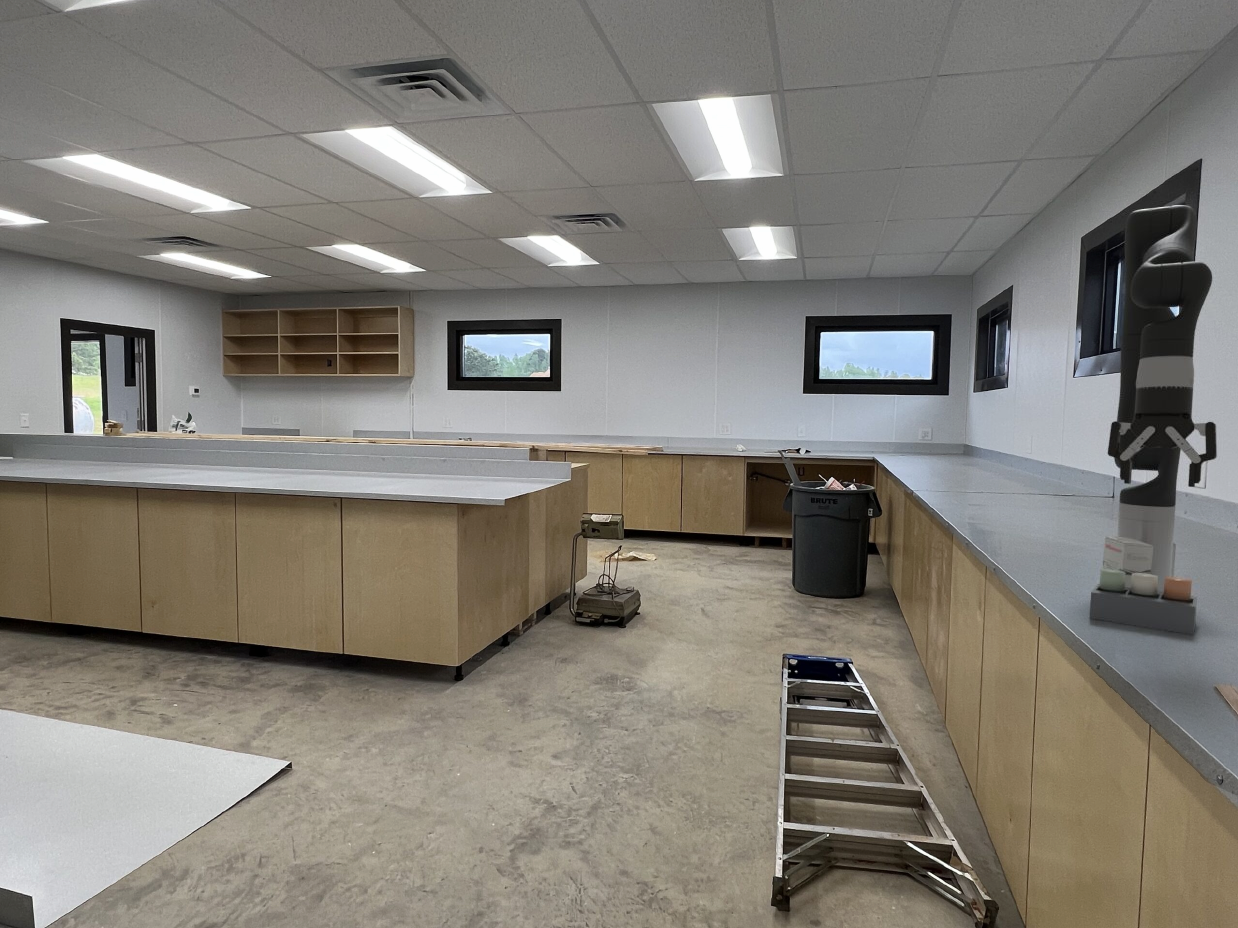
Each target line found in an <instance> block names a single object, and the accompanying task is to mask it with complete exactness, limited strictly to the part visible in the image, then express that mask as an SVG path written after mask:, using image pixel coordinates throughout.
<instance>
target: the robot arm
mask: <svg viewBox="0 0 1238 928" xmlns="http://www.w3.org/2000/svg"><path fill="white" fill-rule="evenodd" d="M1197 221H1198V219H1197V214H1196V212H1195V209H1194V208H1193V207H1192V206H1190V205H1184V204H1177V205H1169V206H1167V205H1166V206H1162V207H1161V206H1160V207H1152V208H1144V209H1137V210H1134V211H1132V212H1130V214H1129V215H1128V216H1127V219H1126V223H1125V230H1124V285H1125V286H1124V306H1123V315H1122V324H1121V325H1122V327H1121V341H1120V380H1119V381H1120V382H1119V383H1120V385H1119V398H1118V399H1119V400H1118V407H1117V416H1116V420H1115V421H1112V423H1111V424H1110V431H1109V438H1108V439H1109V440H1108V447H1107V455H1108V456H1109V457H1112V458H1113V459H1114V463H1115V465H1116V467H1117V468H1119V478H1120V480H1121V481H1123V483H1124V484H1127V485H1131V482H1132V473H1133V471H1135V470H1136V471H1150V472H1154V471H1155V472H1157V476H1156V477H1154V478H1153V479H1151V480H1149V481H1146V482H1144V483H1142V484H1138V485H1133V486H1127V487H1124V488H1122V489H1121V490H1120V493H1119V500H1118V501H1119V502H1118V503H1119V504H1118V507H1119V508H1118V518H1117V519H1118V520H1117V522H1118V523H1117V524H1118V525H1117V536H1116V537H1124V538H1132V539H1135V540H1137V541H1140V542H1143V543H1146V544H1149V545H1152V546H1153V556H1152V566H1151V575H1156V576H1158V582H1157V591H1158V592H1164V579H1165V577H1175V564H1176V550H1177V545H1176V543H1175V542H1174V534H1175V520H1176V518H1175V517H1176V504H1177V503H1176V502H1177V499H1176V498H1177V484H1178V483H1177V482H1178V481H1177V479H1178V472H1179V466H1180V458H1181V451H1182V452H1183V453H1184V455H1186V457H1188V458H1189V460H1190V461H1191V463H1189V469H1188V482H1187V483H1188V488H1189V487H1190V488H1195V487H1196V484H1200V482H1201V480H1202V465H1203V464H1204V463H1205V462H1209V461H1213V460H1216V459H1217V457H1218V455H1217V454H1218V453H1217V452H1218V451H1217V448H1218V447H1217V424H1216V423H1215V422H1214V421H1207V422H1203V423H1202V422H1199V423H1194V422H1193V416H1192V414H1193V398H1194V382H1195V368H1194V367H1195V366H1194V349H1195V348H1194V344H1195V335H1196V329H1197V323H1198V321H1199V316H1200V314H1201V310H1202V309H1203V306H1204V303H1205V301H1206V299H1207V297H1208V294H1209V292H1210V289H1211V287H1212V284H1213V273H1212V270H1211V269H1210V267H1209V266H1208V265H1207V263H1204V262H1202V261H1194V258H1193V251H1194V248H1195V244H1196V237H1197V228H1198V223H1197ZM1178 307H1179V308H1181V311H1180V312H1179V314H1177V315H1175V313H1174V312H1173V311H1172V309H1171V308H1178ZM1195 430H1196V431H1198V434H1199V435H1200V436H1202V437H1205V439H1204V440H1205V453H1200V454H1199V453H1198V452H1197V451H1196V449H1195V448H1194V447H1193V446H1192V444H1190V443H1189V441H1188V440H1186V439H1187V438H1188V437H1189V436H1190V435H1192V433H1193V432H1194V431H1195Z"/></svg>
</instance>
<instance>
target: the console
mask: <svg viewBox="0 0 1238 928" xmlns="http://www.w3.org/2000/svg"><path fill="white" fill-rule="evenodd" d="M1099 585H1100V583H1098V584H1096V586H1094V588H1093V589H1092V591H1091V592H1090V607H1089V608H1090V609H1089V619H1091V620H1098V621H1106V622H1110V621H1111V623H1117V624H1123V625H1131V626H1135V627H1136V626H1137V627H1142V628H1149V629H1156V630H1162V631H1168V632H1175V633H1181V634H1187V635H1194V632H1195V627H1196V621H1197V620H1196V618H1197V617H1196V616H1197V603H1198V601H1197V600H1198V597H1197V596H1195V595H1191V599H1190V600H1179V599H1172V598H1168V597H1165V596H1163V594H1164V592H1158V591H1157V595H1142V594H1137V593H1133V592H1131V588H1127V587H1125V588H1124V591H1113V590H1106V589H1102V588H1100V587H1099Z"/></svg>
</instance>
